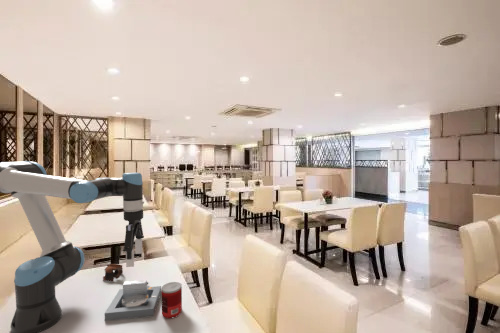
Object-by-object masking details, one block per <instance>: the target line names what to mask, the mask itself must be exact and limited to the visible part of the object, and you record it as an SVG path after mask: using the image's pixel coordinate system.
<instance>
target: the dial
mask: <svg viewBox="0 0 500 333" xmlns="http://www.w3.org/2000/svg"><path fill="white" fill-rule="evenodd" d="M147 282H148V279H145V280H143V279H142V280H132V281H131V280H129V281H124V282H123V284H122V289H123V299H122V308H124V307H136V306H146V305H147V304H148V302H149V296H148V294H147V287H148V285H147Z"/></svg>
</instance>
